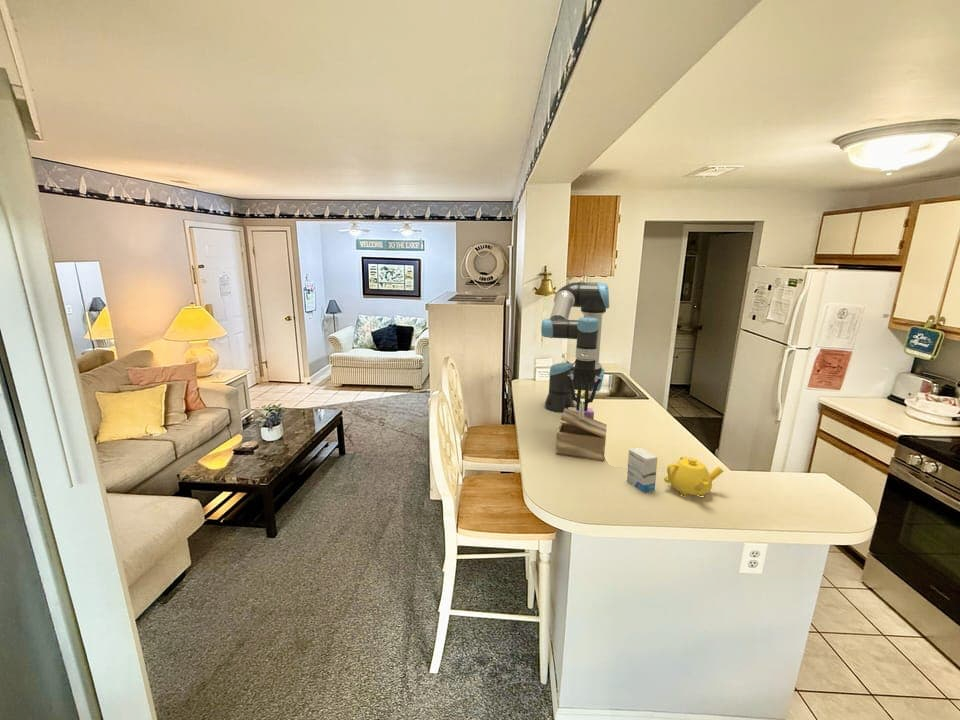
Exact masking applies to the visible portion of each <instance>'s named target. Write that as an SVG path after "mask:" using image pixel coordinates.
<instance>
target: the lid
mask: <svg viewBox="0 0 960 720" xmlns="http://www.w3.org/2000/svg"><path fill="white" fill-rule="evenodd" d="M581 417H582V414H581ZM560 421H562V422H564V423H567V422H568V423H570V424H572V425H575V426H577V427H580V428H582V429H585V430H587V431H589V432H592V433H594V434H597V435H599V436H602V437H604V438H605V437H606V438H607V426H608V425H607V424H606V423H603V422H601V421H598V420H596V419H591V418H589V417H586V416H584V419H583V420H579V413H577V412H574V411H572V410H569V409H567V408H565V409H564V411H563V412H562V414H561V416H560Z"/></svg>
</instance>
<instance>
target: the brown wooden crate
mask: <svg viewBox="0 0 960 720" xmlns="http://www.w3.org/2000/svg"><path fill="white" fill-rule="evenodd" d="M606 440H607V436H606V437H605V438H604V437H602V436H599V435H597V434H594V433H592V432H589V431H587V430H585V429H582V428H580V427H577V426H575V425H572V424H570V423H567V422H565V421H560V423H559V426H558V429H557V431H556V440H555V455H556V456H565V457H571V458H572V457H573V458H577V459H585V460H592V461H598V460H599V462H604V461H605V452H606V451H605V450H606Z"/></svg>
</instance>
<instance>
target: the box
mask: <svg viewBox="0 0 960 720" xmlns="http://www.w3.org/2000/svg"><path fill="white" fill-rule="evenodd" d="M568 409H569V410H572V411H574V412H577V413H579V411H578V410H576V407H575V406H574V407H568ZM581 414H582V411H581ZM584 416H586V417H589V418H591V419H594V418H595V412H594V409H593V408H592V407H591V408H590V407H588V409H587V411H584ZM594 420H595V419H594ZM566 423H568V422H566Z"/></svg>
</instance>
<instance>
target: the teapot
mask: <svg viewBox="0 0 960 720" xmlns="http://www.w3.org/2000/svg"><path fill="white" fill-rule="evenodd" d="M666 473H667V475H666V476H665V477H664V478H663V480H664V483H666V484H670V485H671V486H672V487H673V488H674V489H675V490H676V491H679V496H681V495H682V496H681V497H683V496H686V497H688V495H691V496H697V495H699V496H705V494H707V493H709V492H710V491H711V490H712V488H713V483H712V482H713V481H714V480H716V478H717V477H719V476H720V475H721V474H723V473H724V470H723V469H722V468H721V467H720V466H717V467H716V468H715V469H713V470H712V471H711V472H709V470H708V468H707V467H706V465H705V464H704V463H702V462H701V461H700V460H697V459H696V458H693V457H689V458H688V457H687V456H681V457H680V459H679V461H677V462H675V463H674V462H673V463H670V464H668V465H667V467H666ZM699 496H698V497H699Z"/></svg>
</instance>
